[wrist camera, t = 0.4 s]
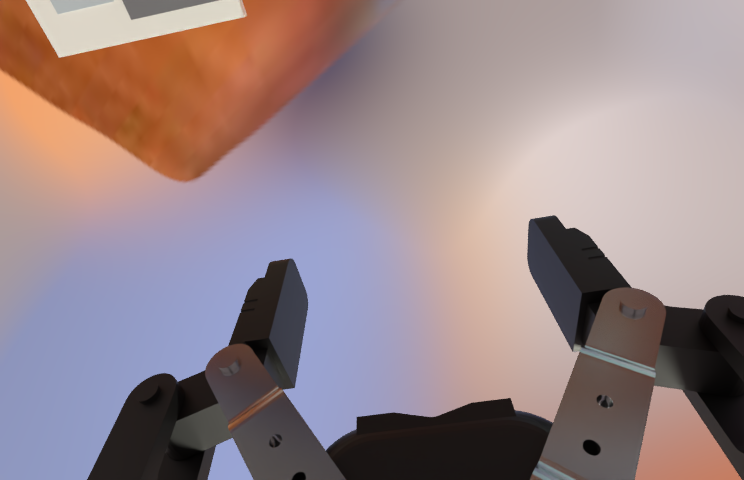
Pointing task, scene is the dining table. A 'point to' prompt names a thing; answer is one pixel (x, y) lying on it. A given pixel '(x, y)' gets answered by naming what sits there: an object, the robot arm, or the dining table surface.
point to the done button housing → (158, 6)
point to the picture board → (119, 22)
